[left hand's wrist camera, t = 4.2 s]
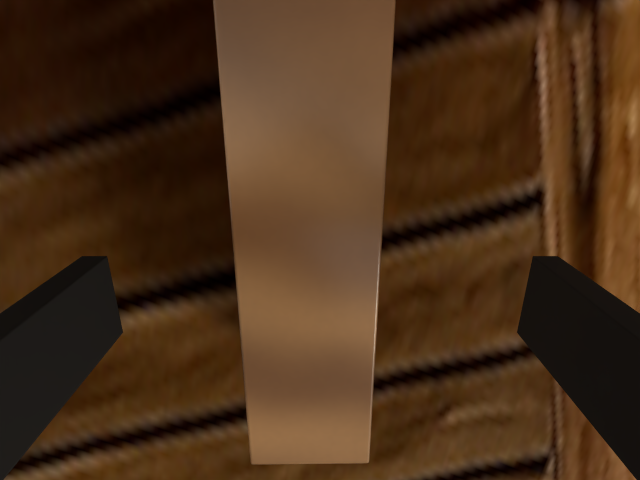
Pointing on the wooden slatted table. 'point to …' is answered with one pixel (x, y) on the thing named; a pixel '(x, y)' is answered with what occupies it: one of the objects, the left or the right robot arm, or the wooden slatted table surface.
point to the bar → (306, 215)
